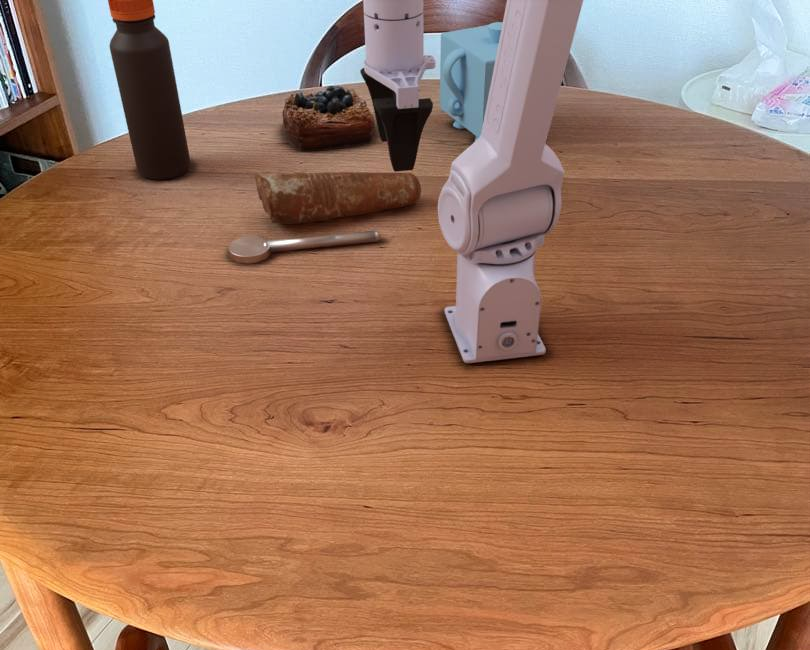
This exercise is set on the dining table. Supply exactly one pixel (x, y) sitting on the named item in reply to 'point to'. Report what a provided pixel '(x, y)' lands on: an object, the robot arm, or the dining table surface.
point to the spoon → (292, 244)
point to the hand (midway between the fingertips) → (396, 154)
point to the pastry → (327, 120)
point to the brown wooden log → (333, 194)
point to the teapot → (468, 74)
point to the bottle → (148, 91)
